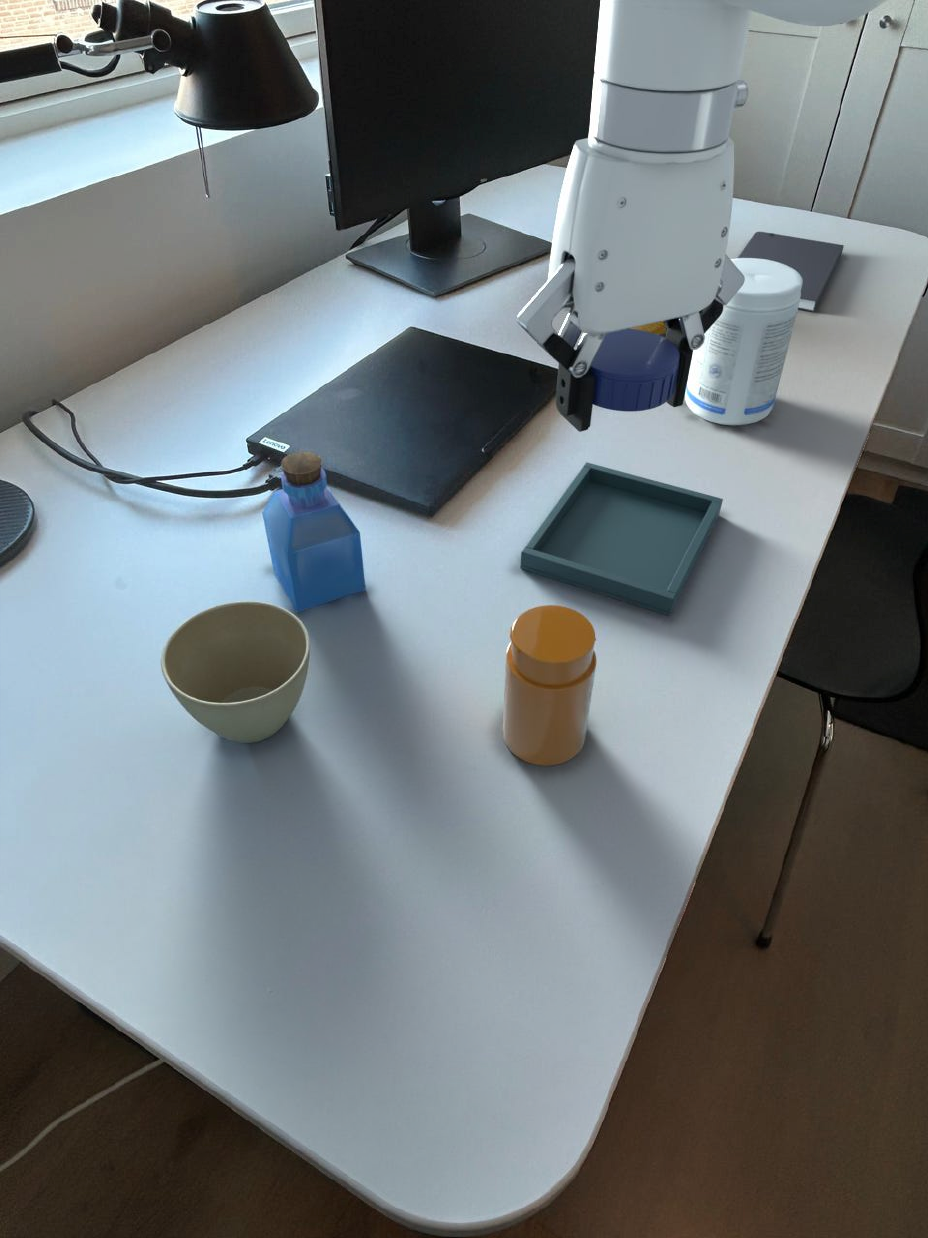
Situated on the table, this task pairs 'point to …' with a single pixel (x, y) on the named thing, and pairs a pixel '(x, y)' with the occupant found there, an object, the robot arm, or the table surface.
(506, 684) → the jar
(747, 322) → the supplement tub
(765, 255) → the notebook
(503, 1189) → the table surface
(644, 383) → the lid
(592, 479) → the tray
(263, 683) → the flower pot
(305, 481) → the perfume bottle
